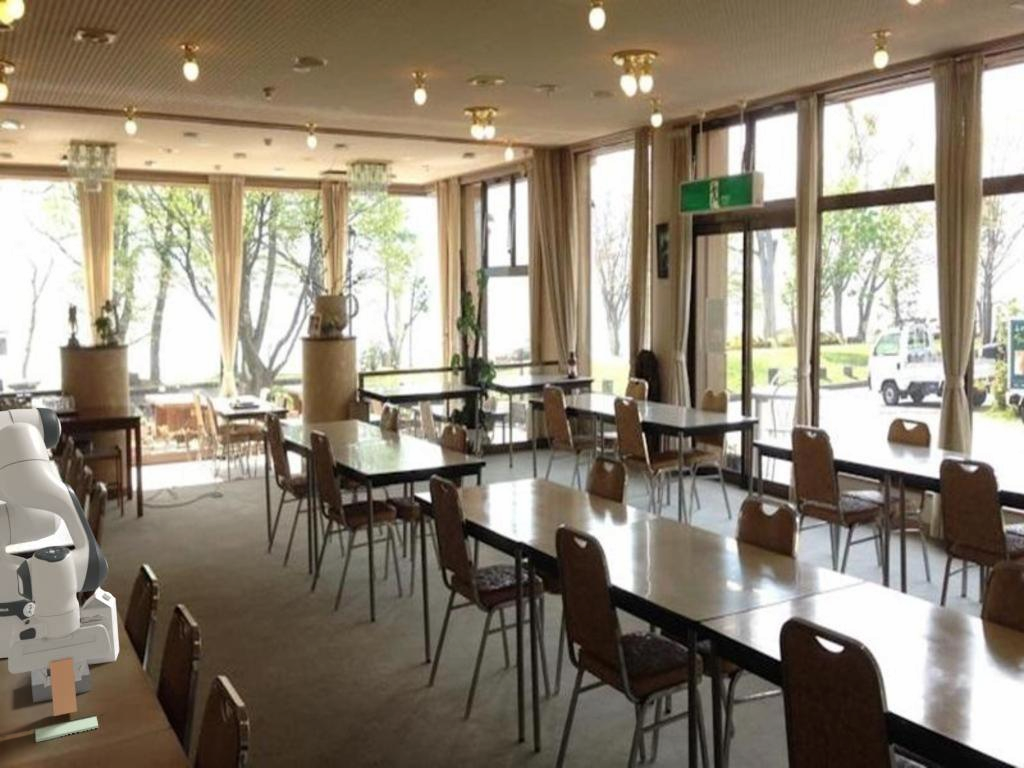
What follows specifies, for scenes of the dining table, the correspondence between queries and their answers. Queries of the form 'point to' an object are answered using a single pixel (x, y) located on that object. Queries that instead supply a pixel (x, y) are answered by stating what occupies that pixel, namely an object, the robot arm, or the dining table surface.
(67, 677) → the block
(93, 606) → the milk carton
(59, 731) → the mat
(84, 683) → the holder
